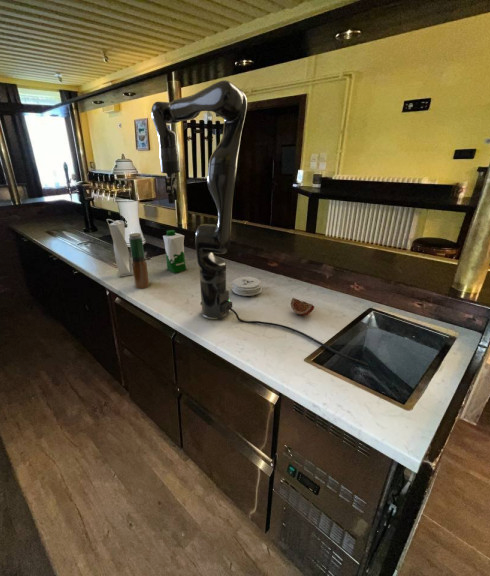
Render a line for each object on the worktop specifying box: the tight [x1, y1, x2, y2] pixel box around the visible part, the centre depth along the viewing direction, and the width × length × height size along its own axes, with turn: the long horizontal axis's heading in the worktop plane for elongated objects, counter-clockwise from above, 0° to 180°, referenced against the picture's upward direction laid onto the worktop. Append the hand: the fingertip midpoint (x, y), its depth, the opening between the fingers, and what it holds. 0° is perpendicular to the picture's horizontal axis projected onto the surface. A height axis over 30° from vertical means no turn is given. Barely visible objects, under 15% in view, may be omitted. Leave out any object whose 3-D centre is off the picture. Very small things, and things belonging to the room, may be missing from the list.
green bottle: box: [128, 232, 145, 258], centre depth 130 cm, size 5×5×10 cm
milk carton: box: [162, 229, 187, 274], centre depth 150 cm, size 9×9×20 cm
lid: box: [231, 276, 263, 297], centre depth 127 cm, size 13×13×5 cm
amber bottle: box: [131, 255, 150, 289], centre depth 135 cm, size 6×6×14 cm
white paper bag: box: [106, 218, 134, 278], centre depth 147 cm, size 8×8×28 cm
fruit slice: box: [290, 297, 315, 316], centre depth 109 cm, size 8×7×5 cm
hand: (173, 201), depth 127 cm, fingers open, 8 cm apart
